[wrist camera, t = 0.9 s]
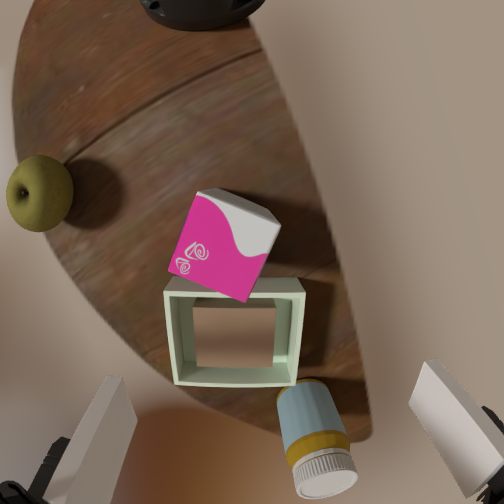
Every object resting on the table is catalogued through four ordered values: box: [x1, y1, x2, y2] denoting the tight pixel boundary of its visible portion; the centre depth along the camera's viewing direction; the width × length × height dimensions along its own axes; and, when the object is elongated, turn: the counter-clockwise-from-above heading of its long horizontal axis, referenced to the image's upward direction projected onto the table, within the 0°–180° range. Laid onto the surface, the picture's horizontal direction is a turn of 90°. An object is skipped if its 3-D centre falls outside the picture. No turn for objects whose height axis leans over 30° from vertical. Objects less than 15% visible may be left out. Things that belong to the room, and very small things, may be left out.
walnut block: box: [193, 297, 276, 367], centre depth 30 cm, size 7×8×3 cm
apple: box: [6, 155, 73, 232], centre depth 24 cm, size 8×8×7 cm
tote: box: [164, 276, 306, 387], centre depth 29 cm, size 11×13×4 cm
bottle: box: [277, 379, 358, 499], centre depth 27 cm, size 7×7×15 cm
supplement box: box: [168, 188, 281, 303], centre depth 23 cm, size 6×6×12 cm
